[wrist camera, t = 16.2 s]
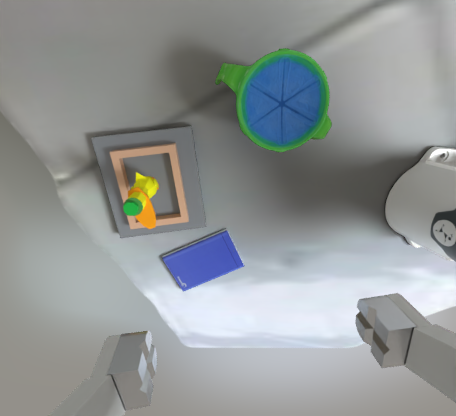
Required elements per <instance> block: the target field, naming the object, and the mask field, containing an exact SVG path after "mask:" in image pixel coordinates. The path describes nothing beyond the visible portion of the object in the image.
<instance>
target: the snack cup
mask: <svg viewBox="0 0 456 416" xmlns="http://www.w3.org/2000/svg"><path fill="white" fill-rule="evenodd" d="M221 81H223V82H224V83H225V84H227V85H228V86H229V87H230V88H231V89H232V90H233V91H234V92H235V94H236V112H237V117H238V120H239V123H240V129H241V130H242V132H243V133H244V135H247V136H248V138H249V139H250V140H252V141H253V142H254V143H255V144H257V145H258V146H260V147H262V148H265V149H268V150H273V151H276V152H285V151H287V150H291V149H294V148H297V147H299V146H301V145H303V144H304V143H306V142H307V141H308V140H309V139H314V140H315V139H324V138H325V136H326V134H327V133H328V131H329V130H330V128H331V125H332V123H331V120H330V119H329V117H328V115H327V111H328V106H329V86H328V82H327V77H326V75H325V73H324V71H322V69H321V67H320V66H319V65H318V64H317V63H316V61H315V60H313V59H312V58H311V57H309V56H308V55H306V54H304V53H301V52H298V51H293V50H290V49H286V48H285V49H279V50H278V51H275V52H272V53H270V54H267V55H265V56H264V57H262V58H260V59H259V60H258V61H256V62H255V63H254V64H253V65H251V66H243V65H234V64H226V63H223V64H222V66H221V69H220V71H219V74H218V76H217V78H216V81H215V83H216V85H218V84H219V83H220V82H221Z"/></svg>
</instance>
